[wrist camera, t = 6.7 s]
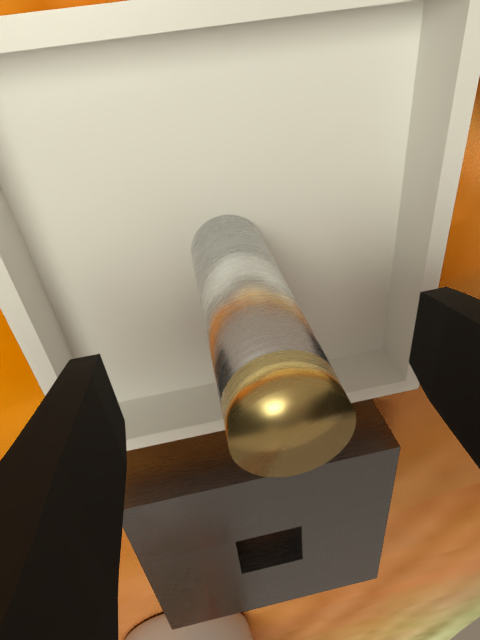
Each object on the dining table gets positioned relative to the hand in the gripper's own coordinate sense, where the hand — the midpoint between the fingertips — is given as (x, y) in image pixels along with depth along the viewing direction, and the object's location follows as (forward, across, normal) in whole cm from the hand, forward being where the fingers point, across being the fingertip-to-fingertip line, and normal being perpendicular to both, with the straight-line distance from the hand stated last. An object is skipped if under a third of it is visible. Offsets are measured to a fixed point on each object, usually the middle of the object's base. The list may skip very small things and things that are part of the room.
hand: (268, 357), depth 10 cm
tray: (+6, 0, 0) cm, 6 cm away
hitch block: (+6, 0, +16) cm, 17 cm away
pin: (+6, 0, 0) cm, 6 cm away
